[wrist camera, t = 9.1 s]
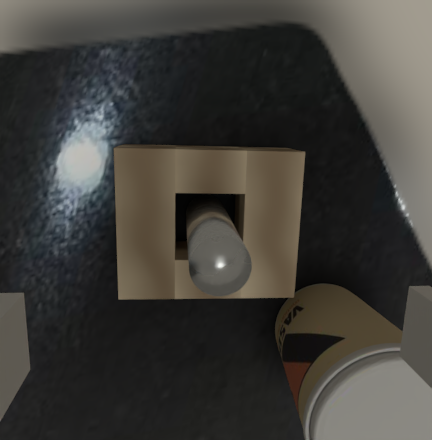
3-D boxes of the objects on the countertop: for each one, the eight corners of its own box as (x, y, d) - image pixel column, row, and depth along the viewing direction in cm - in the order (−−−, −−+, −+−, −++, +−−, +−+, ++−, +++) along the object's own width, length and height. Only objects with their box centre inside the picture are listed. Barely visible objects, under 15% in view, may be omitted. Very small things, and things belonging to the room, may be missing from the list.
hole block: (126, 275, 31) (118, 299, 27) (123, 144, 29) (113, 147, 25) (278, 274, 33) (294, 297, 28) (287, 148, 30) (305, 152, 26)
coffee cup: (270, 270, 32) (320, 353, 21) (381, 275, 33) (489, 356, 22) (259, 374, 35) (299, 501, 23) (364, 375, 35) (454, 498, 24)
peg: (185, 232, 31) (188, 296, 19) (185, 194, 30) (188, 236, 19) (224, 232, 31) (250, 295, 20) (225, 194, 31) (253, 236, 19)
